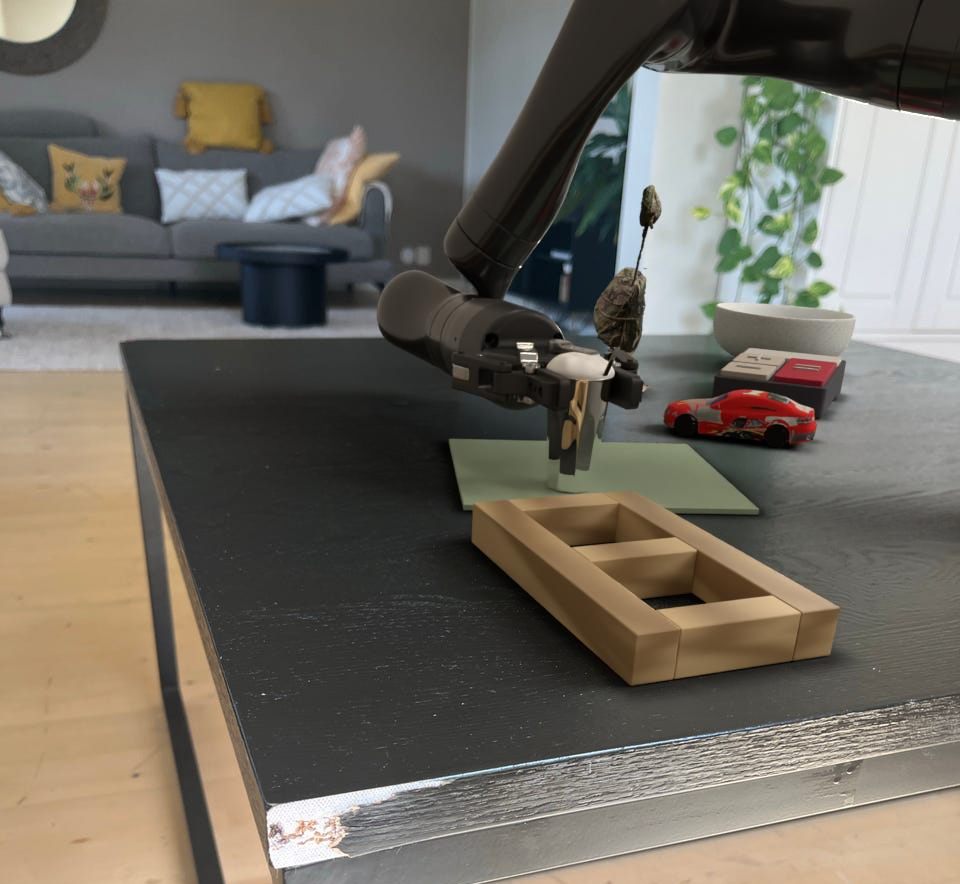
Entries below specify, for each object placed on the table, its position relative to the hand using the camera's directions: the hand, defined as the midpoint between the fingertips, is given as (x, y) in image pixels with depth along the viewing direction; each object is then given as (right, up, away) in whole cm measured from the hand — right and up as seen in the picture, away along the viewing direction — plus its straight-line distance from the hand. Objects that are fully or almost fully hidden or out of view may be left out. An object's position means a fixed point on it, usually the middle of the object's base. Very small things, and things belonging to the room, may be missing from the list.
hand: (600, 394), depth 64 cm
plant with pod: (+6, +11, +42) cm, 44 cm away
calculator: (+24, +9, +40) cm, 48 cm away
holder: (0, -13, -11) cm, 17 cm away
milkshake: (-1, -5, +5) cm, 8 cm away
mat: (0, -4, +10) cm, 11 cm away
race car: (+15, +2, +24) cm, 28 cm away
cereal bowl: (+29, +18, +59) cm, 68 cm away
